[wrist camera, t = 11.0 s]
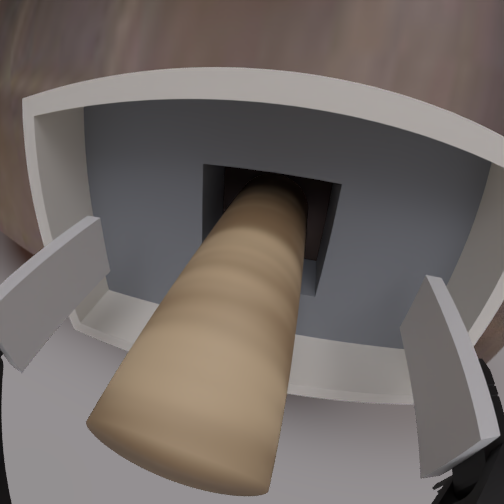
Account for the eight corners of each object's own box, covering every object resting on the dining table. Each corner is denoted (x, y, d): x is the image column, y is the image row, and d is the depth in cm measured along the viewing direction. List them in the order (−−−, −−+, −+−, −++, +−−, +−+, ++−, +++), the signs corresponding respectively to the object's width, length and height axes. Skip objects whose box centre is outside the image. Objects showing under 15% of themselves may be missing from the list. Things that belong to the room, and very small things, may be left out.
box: (125, 270, 21) (74, 329, 15) (109, 85, 14) (22, 98, 8) (407, 324, 18) (424, 404, 13) (477, 134, 11) (555, 168, 5)
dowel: (240, 168, 15) (56, 391, 4) (313, 179, 15) (285, 472, 3) (236, 232, 18) (118, 459, 6) (301, 243, 17) (258, 502, 5)
